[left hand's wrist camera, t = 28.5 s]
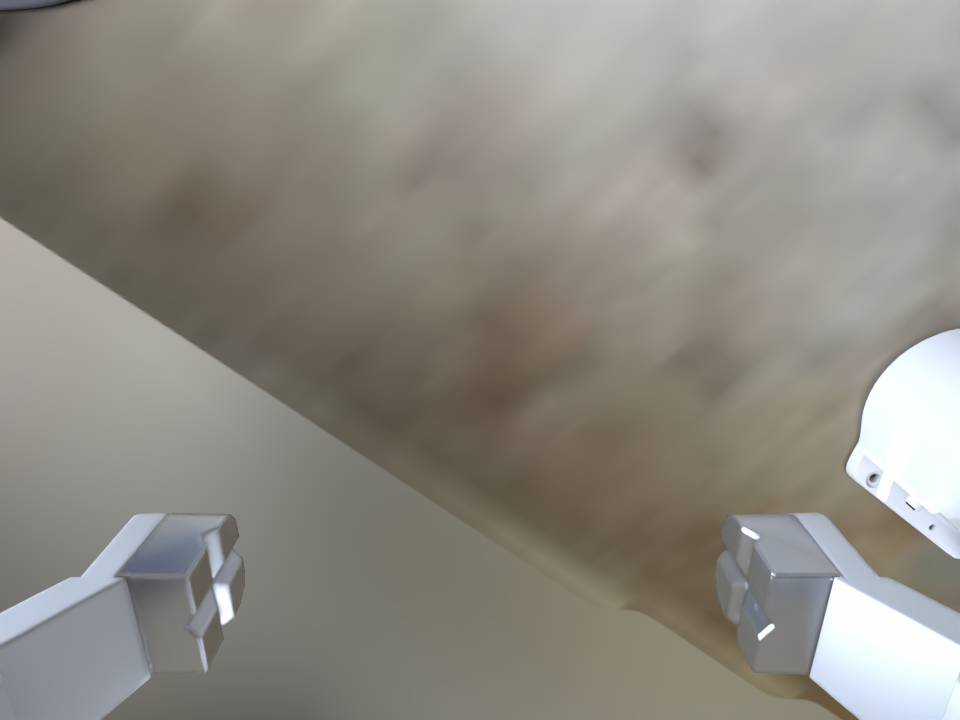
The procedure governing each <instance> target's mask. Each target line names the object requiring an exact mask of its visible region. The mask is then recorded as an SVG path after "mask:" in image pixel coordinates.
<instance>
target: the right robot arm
mask: <svg viewBox="0 0 960 720" xmlns="http://www.w3.org/2000/svg"><path fill="white" fill-rule="evenodd" d="M67 1H70V0H0V10H17V9H30V8H39V7H45V6H50V5H55V4H59V3H63V2H67Z"/></svg>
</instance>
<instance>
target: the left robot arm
mask: <svg viewBox="0 0 960 720" xmlns="http://www.w3.org/2000/svg"><path fill="white" fill-rule="evenodd" d="M846 471H847V474H848V475H849V476H850V477H851V478H852V479H853V480H855V481H856V482H857V483H858V484H860V485H861V486H862V487H864V488H865V489H866V490H867V491H869V492H870V493H871V494H872V495H874V496H875V497H876V498H878V499H879V500H880V501H881V502H883V503H884V504H885V505H886V506H888V507H889V508H890V509H891V510H893V511H894V512H895V513H897V514H898V515H899V516H900V517H902V518H903V519H904V520H905V521H907V522H908V523H909V524H910V525H912V526H913V527H914V528H916V529H917V530H918V531H919V532H921V533H922V534H923V535H924V536H926V537H927V538H928V539H930V540H931V541H932V542H933V543H935V544H936V545H937V546H938V547H940V548H941V549H942V550H944V551H945V552H946V553H948V554H949V555H950V556H952V557H954V558H957V559H960V328H959V329H954V330H949V331H946V332H942V333H940V334H937V335H934V336H932V337H930V338H927V339H925V340H923V341H921V342H920V343H918V344H916V345H915V346H913V347H911V348H910V349H908V350H907V351H906V352H904V353H903V354H902V355H901V356H899V357H898V358H897V359H896V360H895V361H894V362H893V363H892V364H891V365H890V366H889V367H888V368H887V369H886V370H885V371H884V372H883V374H882V375H881V376H880V377H879V379H878V380H877V382H876V383H875V385H874V387H873V388H872V390H871V392H870V394H869V396H868V399H867V401H866V404H865V407H864V411H863V415H862V423H861V433H860V438H859V442H858V444H857V445H856V447H855V449H854V451H853V452H852V454H851V456H850V458H849V460H848V463H847V466H846ZM873 474H875V475H874V476H873V477H871V475H873ZM870 477H871V478H870ZM238 537H239V533H238V528H237V523H236V519H235V518H234V517H233V516H232V515H230V514H192V513H171V514H169V513H141V514H138V515H135V516H133V517H132V519H131V520H130V521H129V522H128V523H127V524H126V525H125V527H124V528H123V529H122V530H121V531H120V532H119V534H118V535H117V536H116V537H115V538H114V539H113V540H112V542H111V543H110V544H109V545H108V546H107V547H106V549H105V550H104V551H103V552H102V553H101V554H100V555H99V557H98V558H97V559H96V560H95V561H94V562H93V564H92V565H91V566H90V567H89V568H88V569H87V570H86V572H85V573H84V574H83V575H82V576H81V577H70V578H68V579H66V580H64V581H62V582H60V583H58V584H57V585H55V586H53V587H51V588H49V589H47V590H45V591H43V592H41V593H39V594H37V595H35V596H33V597H31V598H29V599H27V600H25V601H23V602H21V603H19V604H17V605H15V606H13V607H11V608H10V609H8V610H6V611H4V612H2V613H0V720H101V719H102V718H103V717H105V716H106V715H107V714H108V713H109V712H110V711H112V710H113V709H114V708H115V707H116V706H118V705H119V704H120V703H121V702H122V701H123V700H125V699H126V698H127V697H128V696H129V695H131V694H132V693H133V692H134V691H135V690H136V689H138V688H139V687H140V686H141V685H142V684H143V683H145V682H146V681H147V680H148V679H149V678H150V674H181V673H207V672H208V670H209V668H210V666H211V664H212V662H213V660H214V658H215V655H216V654H217V651H218V649H219V647H220V645H221V643H222V641H223V639H224V637H223V631H222V626H223V625H224V624H225V623H227V622H228V621H229V620H231V619H232V618H234V617H235V615H236V612H237V610H238V608H239V606H240V604H241V600H242V595H243V590H244V586H245V569H244V563H243V558H242V557H241V556H240V555H239V554H238V553H237V552H236V551H235V550H234V549H233V546H234V544H235V543H236V541H237V539H238ZM721 537H722V539H723V541H724V543H725V544H726V546H727V549H726V550H725V551H724V552H723V553H722V554H721V555H720V556H719V557H718V558H717V563H716V571H715V582H716V593H717V596H718V600H719V603H720V606H721V608H722V610H723V612H724V615H725V617H726V618H728V619H729V620H730V621H732V622H733V623H735V624H736V625H737V626H738V631H737V637H736V639H737V641H738V643H739V645H740V647H741V649H742V651H743V653H744V655H745V657H746V659H747V662H748V664H749V666H750V668H751V670H752V672H753V673H777V674H810V676H809V677H810V678H811V679H812V680H813V681H814V682H816V683H817V684H818V685H819V686H820V687H822V688H823V689H824V690H825V691H826V692H827V693H829V694H830V695H831V696H832V697H833V698H834V699H836V700H837V701H838V702H839V703H840V704H842V705H843V706H844V707H845V708H846V709H847V710H849V711H850V712H851V713H852V714H853V715H854V716H856V717H857V718H858V719H859V720H960V613H958V612H956V611H954V610H952V609H950V608H948V607H946V606H944V605H943V604H941V603H939V602H937V601H935V600H933V599H931V598H929V597H927V596H925V595H923V594H921V593H919V592H917V591H915V590H913V589H911V588H909V587H907V586H905V585H903V584H902V583H900V582H898V581H896V580H894V579H892V578H890V577H879V576H878V575H877V574H876V573H875V572H874V570H873V569H872V568H871V567H870V566H869V565H868V564H867V562H866V561H865V560H864V559H863V558H862V557H861V555H860V554H859V553H858V552H857V551H856V550H855V549H854V547H853V546H852V545H851V544H850V543H849V542H848V540H847V539H846V538H845V537H844V536H843V535H842V534H841V532H840V531H839V530H838V529H837V528H836V527H835V526H834V524H833V523H832V522H831V521H830V520H829V519H828V517H827V516H825V515H823V514H821V513H789V514H770V515H727V517H726V519H725V521H724V523H723V527H722V532H721Z"/></svg>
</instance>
